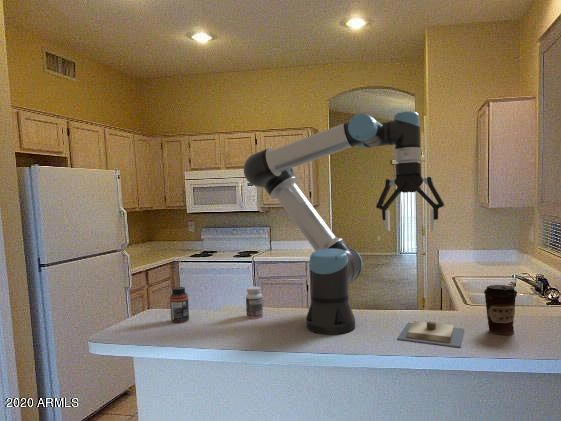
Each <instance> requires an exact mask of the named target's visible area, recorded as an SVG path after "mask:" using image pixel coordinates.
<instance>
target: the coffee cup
mask: <svg viewBox="0 0 561 421" xmlns="http://www.w3.org/2000/svg"><path fill="white" fill-rule="evenodd" d="M483 294H484V298H485V308H486V315H487V316H486V317H487V318H486V319H487V325H488V331H489V332H490V333H493V334H496V335H505V336H506V335H508V336H509V335H513V334H515V329H514V318H515V315H516V299H517V298H516V297H517V296H518V291H517V290H515V287H514V286H512V285H508V284H506V285H505V284H493V285H492V284H490V285H488V286H486V288H485V289H484V290H483Z"/></svg>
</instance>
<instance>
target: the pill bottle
mask: <svg viewBox="0 0 561 421" xmlns="http://www.w3.org/2000/svg"><path fill="white" fill-rule="evenodd" d="M261 288H262V287H261V286H248V287H247V288H246V292H247V294H246V295H245V304H246V306H245V307H246V308H245V310H246V317H247V318H248V319H252V318H255V319H259V318H262V317H263V316H264V302H263V301H264V300H263V299H264V298H263V294H262V293H261V292H262V290H261Z"/></svg>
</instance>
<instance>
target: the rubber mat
mask: <svg viewBox="0 0 561 421" xmlns="http://www.w3.org/2000/svg"><path fill="white" fill-rule="evenodd" d="M413 323H414V322H407V323H406V325H405V326H404V327H403V329H402V330H401V332H400V333H399V335H398V336H397V338H396V340H397V341H405V342H414V343H421V344H428V345H429V344H430V345H436V346H437V345H438V346H442V347H444V346H445V347H451V348H452V347H453V348H458V349H460V348H461V347H462V342H463V340H464V339H463V337H464V334H465V330H464V329H465V328H464V327H463V328H462V327H456V326H454V332H453V336H452V339H451V342H445V341H437V340H429V339H421V338H412V337H408V331H409V329H410V327H411V326H412V324H413Z"/></svg>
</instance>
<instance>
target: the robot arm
mask: <svg viewBox="0 0 561 421" xmlns="http://www.w3.org/2000/svg"><path fill="white" fill-rule="evenodd" d="M355 146H358V147H359V148H361V149H362V148H369V149H370V148H375V147H382V146H383V147H384V146H385V147H386V146H394V147H395V148H394V150H395V151H394V152H395V154H394V155H395V156H394V157H395V162H396V164H395V179H389V178H387V179H386V180H385V185H384V187H383V190H382V192H381V194H380V196H379V198H378V201H377V203H376V205H375V207H376V209H378V210H381V214H382V216H381V218H382V221H385V231H386V232H389V231H391V218H390V217H391V216H390V215H391V213H390V212H391V211H390V209H389V208H390V206H391V205H392V204H393V203H394V202H395V200H396V199H397V197H398V196H399V195H401V193H406V194H407V193H415V192H417V193H418V194H420V196H421V197H422V198H423V199H424V200H425V201H426V202H427V203H428V204H429V206H431V207H432V209H430V231H431V232H435V231H436V225H435V224H436V220H437V221H438V220H439V209H441V208H442V207H445V203H444V201H443V199H442V198H441V195H440V194H439V192H438V190H437V189H436V187H435V184H434V181H433V177H432V176H428V177H423V176H422V163H421V162H420V161H421V160H422V158H421V156H422V153H421V151H422V150H421V124H420V115H419V113H418V112H416V111H402V112H397V113H395V114H394V118H393V120H391V121H381V122H379V121H377V120H376V119H375V118H374V117H373V116H372V115H370V114H366V113H358V114H355V115H353V116H352V117H351V119H350V120H348V121H347V122H344V123H342V124H339V125H336V126H333V127H331V128H328V129H326V130H325V129H324V130H322V131H320V132H318V133H315V134H312V135H308V136H306V137H304V138H301V139H299V140H296V141H294V142H291V143H288V144H285V145H283V146H279V147H277V148H275V149H273V148H272V147H269V148H266V149H263V150H260V151H257V152H255V153H252V155H250V156H248V158H247V159H246V160H245V162H244V165H243V175H244V177H245V179H246V181H247V182H248V183H249V184H250V185H252V186H255V187H259V188H264V190H265V191H266V192H267V194H268V195H269V196H270V198H272V199H277V200H278V201H279V203H280V205H281V206H282V207H283V208H284V210H285V211H286V212H287V214H288V215H289V217H290V218H291V220H292V221H293V223H295V225H296V226H297V228H298V229H299V230H300V232H301V233H302V235H303V236H304V237H305V239H306V240H307V241H308V243H309V245H311V247H312V249H314V251H313V252H312V253H311V254H310V257H309V262H308V265H309V266H308V267H309V285H310V286H309V287H310V304H309V307H308V311H307V314H306V318H305V328H306V329H307V330H309V331H311V332H313V333H317V334H323V335H339V334H346V333H349V332H351V331H354V330H355V329H356V319H355V316H354V313H353V309H352V306H351V304H350V302H349V301H350V299H349V297H350V296H349V294H350V292H349V284H351V283H353V282H354V281H356V280H357V279H359V276H360V275H361V273H362V271H363V266H364V263H363V258H362V256H361V255H360V253H359V252H358V251H357V250H355V249H353V248H351V247H350V246H349V245H348V244H347V242H346V241H345V240H344V239H343V238H341V237H337V236H336V235H335V234H334V233H333V231H332V230H331V229H330V227H329V225H328V224H327V223H326V222H325V220H324V219H323V218H322V217H321V215H320V214H319V212H318V211H317V209H316V208H315V207H314V206H313V204H312V203H311V202H310V201H309V199H308V198H307V197H306V195H305V194H304V193H303V191H302V190H301V188H300V187H299V186H298V184H297V182H298V178H297V176H296V175H295V173H294V168H296V167H299V166H302V165H304V164H307V163H310V162H313V161H316V160H319V159H321V158H324V157H327V156H330V155H333V154H335V153H338V152H341V151H345V150H348V149H349V148H353V147H355ZM423 183H425V185H428V188H429V189H430V192H431V193H432V195H433V197H434V198H435V200H436V201H437V203H436V202H435V201H434V200H433V199H432V198H431V197H430V196H429V194H427V193H426V192H425V191H424V189H423V188H422V187H421V185H422V184H423ZM394 185H395V186H396V189H395V190H394V192H393V193H392V194H391V195H390V197H388V199H387V200H386V198H387V196H388V194H389V193H390V192H389V191H391V187H393V186H394ZM385 201H386V202H385ZM384 202H385V203H384Z"/></svg>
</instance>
